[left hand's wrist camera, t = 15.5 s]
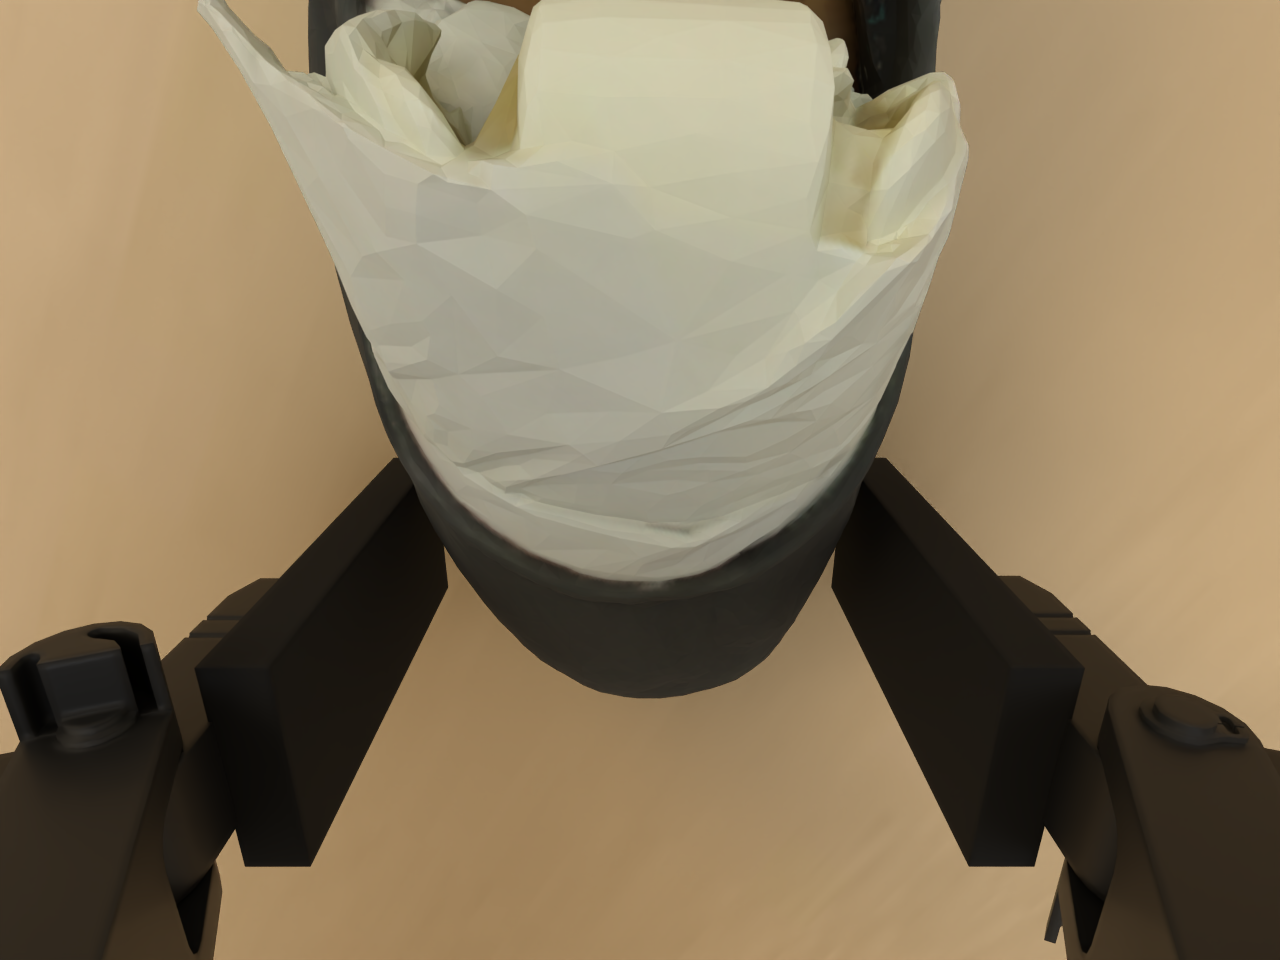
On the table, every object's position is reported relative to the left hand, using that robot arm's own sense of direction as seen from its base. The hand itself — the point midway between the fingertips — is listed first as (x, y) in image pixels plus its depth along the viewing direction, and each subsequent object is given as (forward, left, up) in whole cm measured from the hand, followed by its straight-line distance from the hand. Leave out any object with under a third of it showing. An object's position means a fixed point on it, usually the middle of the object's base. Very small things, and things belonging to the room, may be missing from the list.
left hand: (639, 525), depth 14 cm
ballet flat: (+4, +8, -1) cm, 9 cm away
